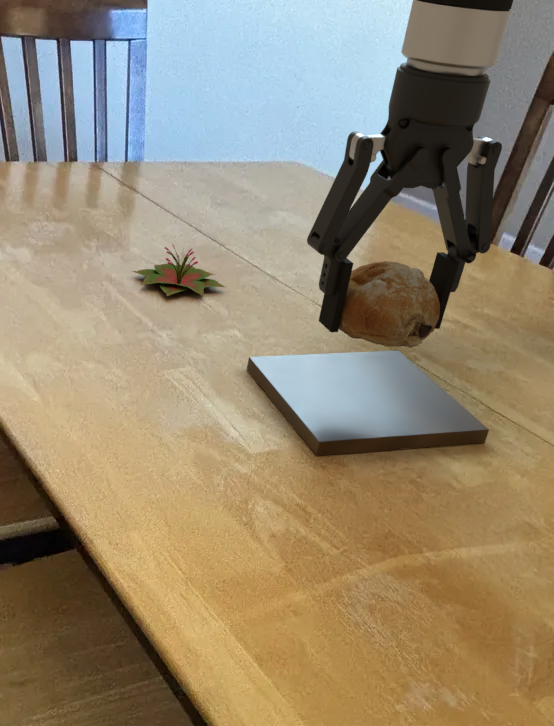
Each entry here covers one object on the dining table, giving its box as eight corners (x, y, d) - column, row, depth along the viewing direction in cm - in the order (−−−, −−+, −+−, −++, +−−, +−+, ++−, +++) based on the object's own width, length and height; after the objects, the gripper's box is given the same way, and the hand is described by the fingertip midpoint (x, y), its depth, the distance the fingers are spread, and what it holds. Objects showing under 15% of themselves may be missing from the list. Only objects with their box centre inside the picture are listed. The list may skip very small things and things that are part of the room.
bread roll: (370, 387, 81) (423, 326, 75) (297, 310, 83) (344, 245, 77) (421, 359, 88) (474, 301, 81) (352, 288, 90) (399, 226, 84)
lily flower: (242, 295, 111) (247, 259, 109) (162, 306, 106) (166, 269, 103) (191, 264, 119) (195, 230, 117) (115, 273, 114) (117, 238, 111)
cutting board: (395, 362, 98) (398, 350, 97) (484, 443, 85) (489, 429, 84) (246, 369, 94) (248, 356, 93) (316, 456, 80) (319, 441, 79)
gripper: (535, 65, 77) (460, 307, 90) (298, 50, 71) (255, 312, 84) (591, 81, 71) (502, 337, 84) (339, 67, 65) (286, 345, 78)
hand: (379, 324), depth 84 cm, fingers closed on bread roll, 10 cm apart
